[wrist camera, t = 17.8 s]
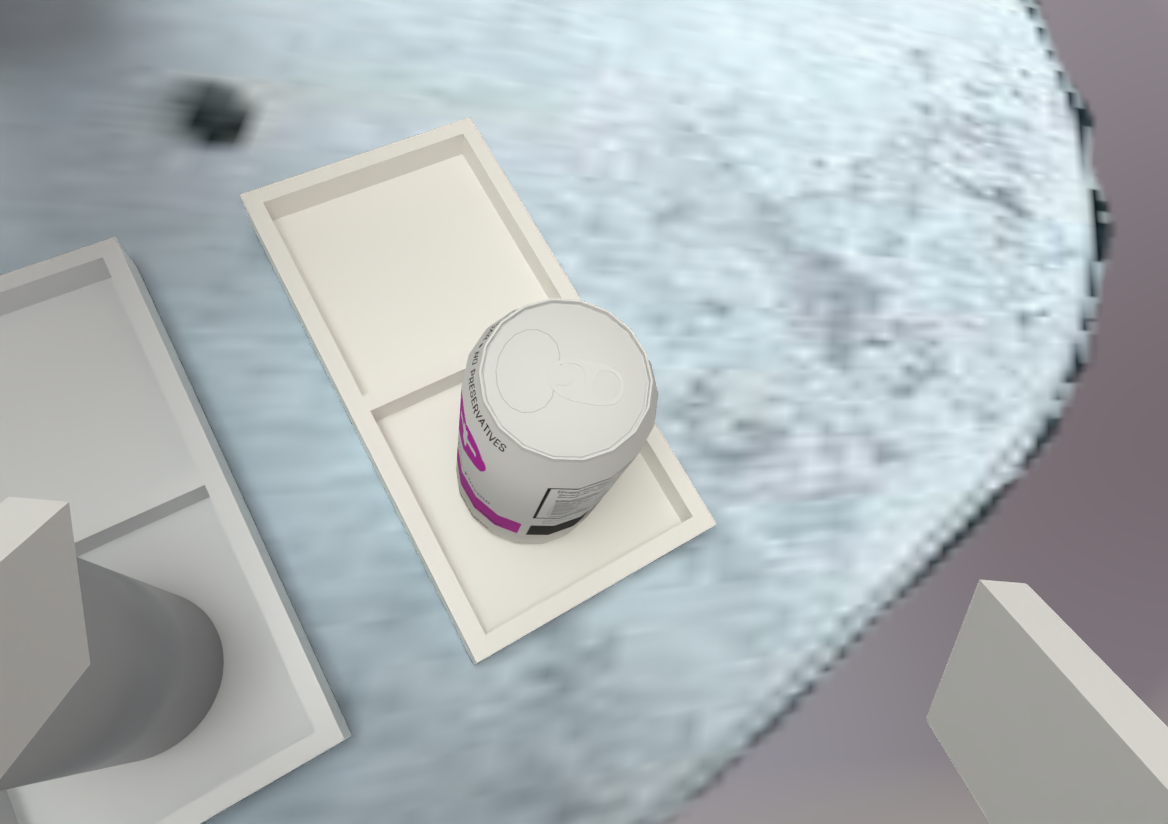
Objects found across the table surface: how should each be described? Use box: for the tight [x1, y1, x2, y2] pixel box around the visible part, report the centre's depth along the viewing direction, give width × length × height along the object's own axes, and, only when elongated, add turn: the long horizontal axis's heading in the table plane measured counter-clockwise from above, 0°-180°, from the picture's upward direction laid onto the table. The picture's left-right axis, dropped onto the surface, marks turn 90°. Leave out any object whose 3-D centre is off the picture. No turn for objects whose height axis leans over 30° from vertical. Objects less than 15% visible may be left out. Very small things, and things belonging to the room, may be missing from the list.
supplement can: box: [456, 298, 658, 543], centre depth 38 cm, size 8×8×15 cm
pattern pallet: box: [0, 237, 352, 824], centre depth 33 cm, size 30×15×16 cm, turn 30°
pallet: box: [240, 117, 716, 665], centre depth 46 cm, size 30×15×4 cm, turn 30°
